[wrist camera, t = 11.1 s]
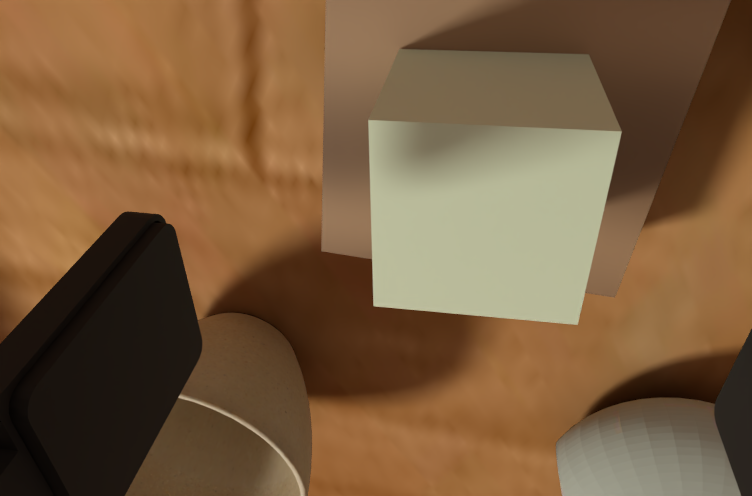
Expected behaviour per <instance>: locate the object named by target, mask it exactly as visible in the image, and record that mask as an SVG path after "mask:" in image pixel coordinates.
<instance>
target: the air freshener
mask: <svg viewBox="0 0 752 496" xmlns="http://www.w3.org/2000/svg"><path fill="white" fill-rule="evenodd" d="M714 407H715V404H713V403H709V402H705V401H700V400H693V399H685V398H662V397H659V398H648V399H638V400H634V401H629V402H624V403H620V404H617V405H614V406H611V407H607V408H604V409H602V410H600V411H598V412H596V413H594V414H592V415H590V416H588V417H586V418H585V419H583V420H581V421H580V422H578V423H577V424H575V425H574V426H573V427H571V428H570V429H569V430H568V431H567V432H566V433H565V434H564V435H563V436H562V437H561V438H560V439H559V440H558V441H557V443H556V455H557V465H558V472H559V479H560V485H561V491H562V496H741V494H740V491H739V488H738V485H737V482H736V480H735V477H734V474H733V471H732V468H731V465H730V462H729V460H728V457H727V454H726V451H725V448H724V445H723V443H722V440H721V437H720V434H719V431H718V428H717V426H716V422H715V416H714Z"/></svg>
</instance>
